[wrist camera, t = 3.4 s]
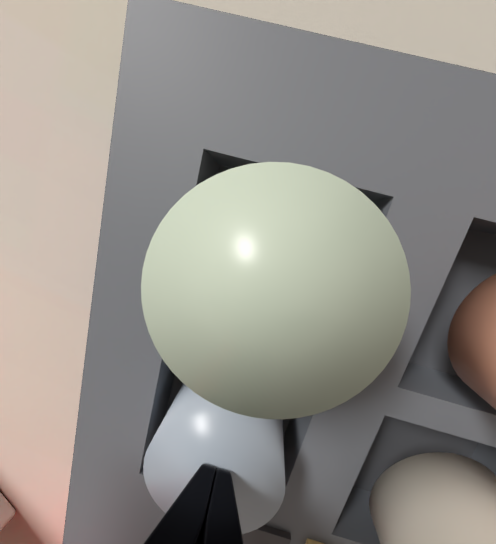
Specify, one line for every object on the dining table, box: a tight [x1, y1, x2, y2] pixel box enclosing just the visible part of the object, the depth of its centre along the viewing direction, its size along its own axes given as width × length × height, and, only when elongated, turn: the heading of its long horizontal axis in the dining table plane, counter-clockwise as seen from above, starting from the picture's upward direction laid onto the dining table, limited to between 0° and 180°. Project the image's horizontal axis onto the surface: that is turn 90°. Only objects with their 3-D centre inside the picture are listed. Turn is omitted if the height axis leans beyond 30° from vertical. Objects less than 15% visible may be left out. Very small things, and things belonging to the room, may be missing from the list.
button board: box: [63, 0, 496, 544], centre depth 9 cm, size 17×19×3 cm
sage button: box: [141, 162, 411, 419], centre depth 5 cm, size 4×4×3 cm
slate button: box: [143, 384, 285, 534], centre depth 9 cm, size 4×4×3 cm
